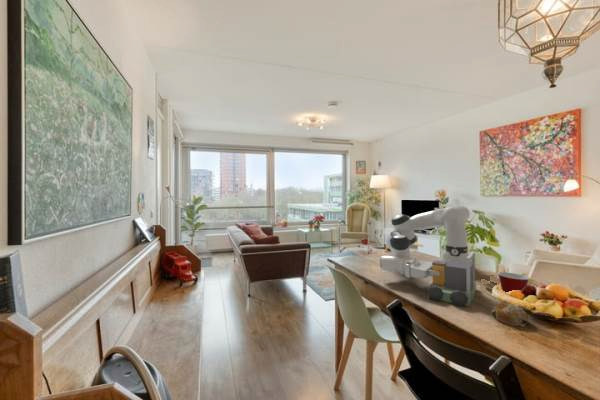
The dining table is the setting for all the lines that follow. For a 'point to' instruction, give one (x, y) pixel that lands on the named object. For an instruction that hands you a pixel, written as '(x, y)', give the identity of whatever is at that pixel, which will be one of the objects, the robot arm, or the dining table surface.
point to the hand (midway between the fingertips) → (441, 271)
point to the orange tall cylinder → (442, 268)
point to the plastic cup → (512, 281)
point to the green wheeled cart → (456, 283)
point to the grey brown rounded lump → (510, 314)
